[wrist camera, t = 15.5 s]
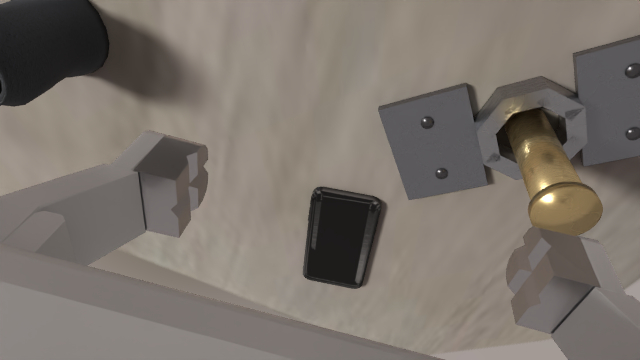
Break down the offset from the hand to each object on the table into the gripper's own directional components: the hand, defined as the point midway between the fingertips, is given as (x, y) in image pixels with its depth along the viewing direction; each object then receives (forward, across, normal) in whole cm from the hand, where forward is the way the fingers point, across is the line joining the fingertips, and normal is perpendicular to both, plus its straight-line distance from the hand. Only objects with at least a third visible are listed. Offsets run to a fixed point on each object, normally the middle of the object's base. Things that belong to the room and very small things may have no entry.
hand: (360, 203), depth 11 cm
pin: (+29, -15, +10) cm, 34 cm away
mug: (+29, +32, +12) cm, 44 cm away
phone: (+29, -1, +30) cm, 42 cm away
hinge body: (+29, -15, +10) cm, 34 cm away
